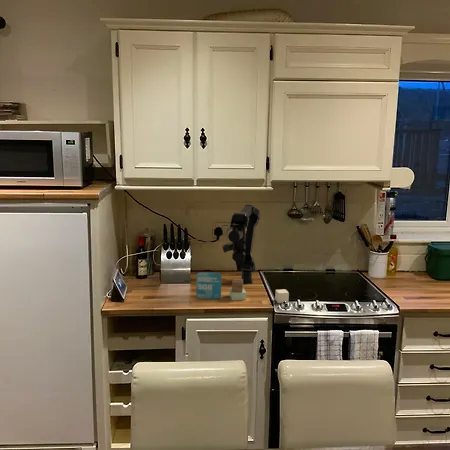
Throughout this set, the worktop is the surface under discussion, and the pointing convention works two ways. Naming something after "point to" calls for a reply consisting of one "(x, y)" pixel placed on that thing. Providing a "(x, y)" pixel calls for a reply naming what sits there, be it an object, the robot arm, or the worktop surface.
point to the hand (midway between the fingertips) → (238, 268)
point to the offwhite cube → (282, 296)
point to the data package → (208, 285)
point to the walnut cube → (237, 285)
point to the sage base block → (237, 295)
